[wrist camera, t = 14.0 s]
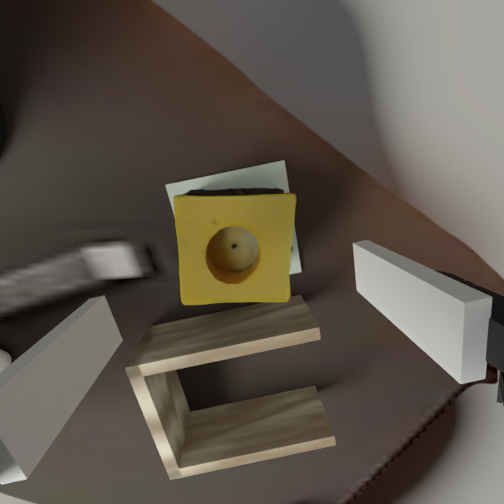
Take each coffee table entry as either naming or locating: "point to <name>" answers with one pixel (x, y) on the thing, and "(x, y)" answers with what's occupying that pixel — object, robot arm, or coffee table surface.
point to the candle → (234, 245)
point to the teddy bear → (4, 360)
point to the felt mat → (243, 178)
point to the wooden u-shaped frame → (233, 414)
